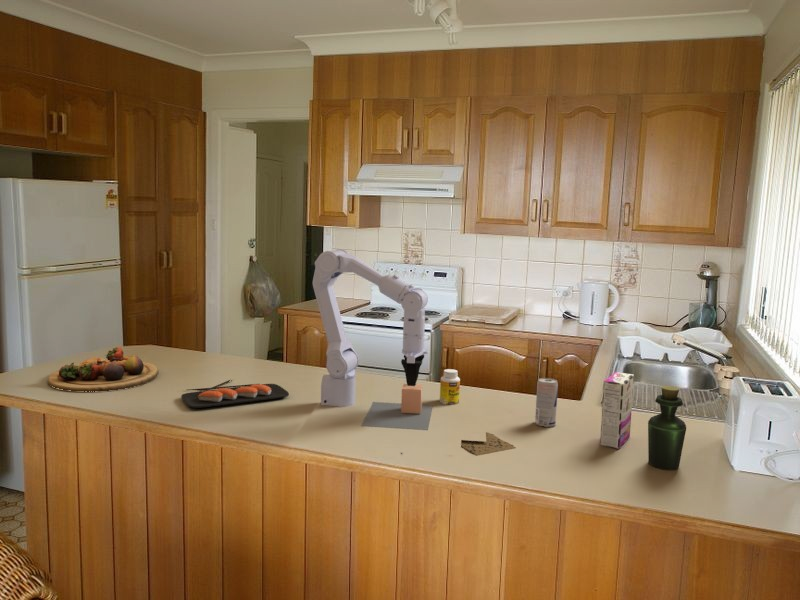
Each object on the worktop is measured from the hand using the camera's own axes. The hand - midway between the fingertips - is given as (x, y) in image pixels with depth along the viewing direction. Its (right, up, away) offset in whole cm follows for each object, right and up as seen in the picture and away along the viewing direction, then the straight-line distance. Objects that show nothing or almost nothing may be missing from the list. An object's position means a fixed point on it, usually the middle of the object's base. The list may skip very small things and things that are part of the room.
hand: (412, 383), depth 181 cm
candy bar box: (+50, -13, -15) cm, 54 cm away
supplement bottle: (+11, -8, +11) cm, 17 cm away
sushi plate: (-55, -6, +18) cm, 58 cm away
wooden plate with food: (-97, -3, +29) cm, 101 cm away
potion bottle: (+57, -15, -30) cm, 66 cm away
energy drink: (+35, -11, -3) cm, 37 cm away
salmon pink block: (0, -8, +1) cm, 8 cm away
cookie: (+17, -13, -19) cm, 28 cm away
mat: (-4, -9, -2) cm, 10 cm away
